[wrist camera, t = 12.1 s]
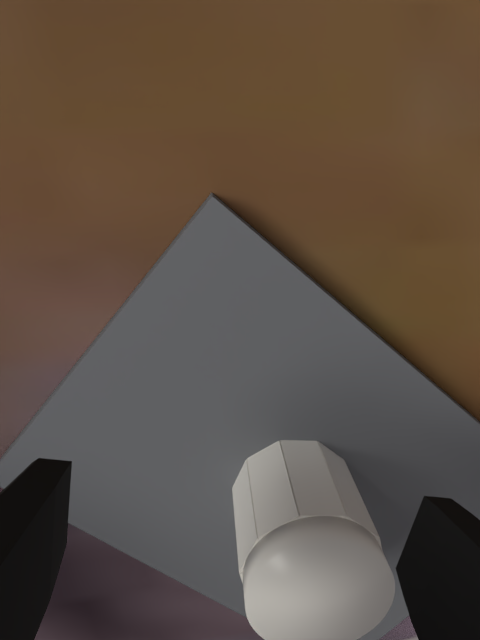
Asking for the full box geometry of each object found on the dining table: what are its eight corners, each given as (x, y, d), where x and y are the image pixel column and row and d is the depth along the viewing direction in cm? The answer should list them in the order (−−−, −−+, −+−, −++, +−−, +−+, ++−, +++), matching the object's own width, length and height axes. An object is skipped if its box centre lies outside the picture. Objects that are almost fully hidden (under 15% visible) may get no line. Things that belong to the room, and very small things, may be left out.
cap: (249, 545, 20) (263, 667, 15) (221, 454, 18) (227, 560, 13) (355, 519, 20) (403, 633, 15) (337, 425, 18) (385, 522, 13)
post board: (2, 455, 19) (-64, 554, 14) (211, 192, 16) (214, 208, 11) (334, 639, 25) (365, 753, 20) (537, 471, 21) (630, 559, 17)
